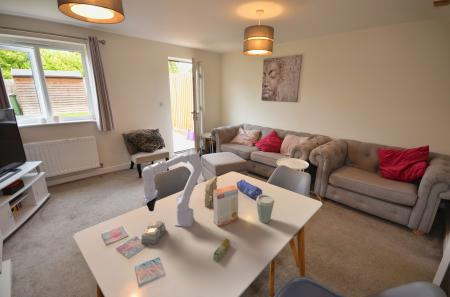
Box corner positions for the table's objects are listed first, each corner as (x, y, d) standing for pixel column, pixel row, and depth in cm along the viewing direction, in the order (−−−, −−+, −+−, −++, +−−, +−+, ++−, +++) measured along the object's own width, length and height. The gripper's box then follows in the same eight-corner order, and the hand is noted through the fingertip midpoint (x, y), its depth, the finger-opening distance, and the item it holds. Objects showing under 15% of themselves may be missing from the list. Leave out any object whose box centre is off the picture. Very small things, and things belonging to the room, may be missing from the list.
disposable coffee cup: (276, 220, 122) (278, 197, 119) (266, 228, 115) (268, 204, 111) (261, 213, 129) (262, 192, 126) (251, 220, 122) (252, 198, 118)
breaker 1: (162, 223, 111) (161, 219, 110) (160, 226, 108) (158, 223, 107) (152, 224, 112) (151, 221, 111) (150, 228, 109) (148, 225, 108)
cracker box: (233, 215, 127) (233, 184, 122) (238, 220, 122) (239, 188, 117) (213, 221, 121) (212, 189, 115) (217, 227, 115) (217, 194, 110)
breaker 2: (158, 230, 105) (156, 227, 105) (155, 234, 102) (154, 231, 101) (147, 231, 106) (146, 228, 105) (144, 236, 103) (143, 232, 102)
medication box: (218, 262, 91) (218, 255, 90) (213, 260, 92) (213, 253, 91) (229, 245, 101) (230, 239, 100) (225, 243, 103) (225, 237, 102)
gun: (208, 208, 135) (208, 186, 132) (204, 207, 136) (204, 186, 133) (217, 194, 158) (217, 176, 156) (213, 194, 159) (213, 175, 157)
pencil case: (235, 190, 161) (235, 179, 159) (244, 187, 166) (244, 176, 164) (254, 201, 144) (254, 189, 141) (262, 198, 148) (263, 186, 146)
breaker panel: (165, 229, 113) (165, 222, 112) (156, 244, 102) (155, 236, 100) (152, 228, 114) (151, 221, 113) (141, 243, 102) (140, 235, 101)
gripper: (148, 182, 117) (150, 203, 120) (135, 194, 103) (138, 217, 106) (160, 183, 116) (162, 204, 119) (148, 195, 102) (151, 218, 105)
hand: (151, 210), depth 113 cm, fingers closed
